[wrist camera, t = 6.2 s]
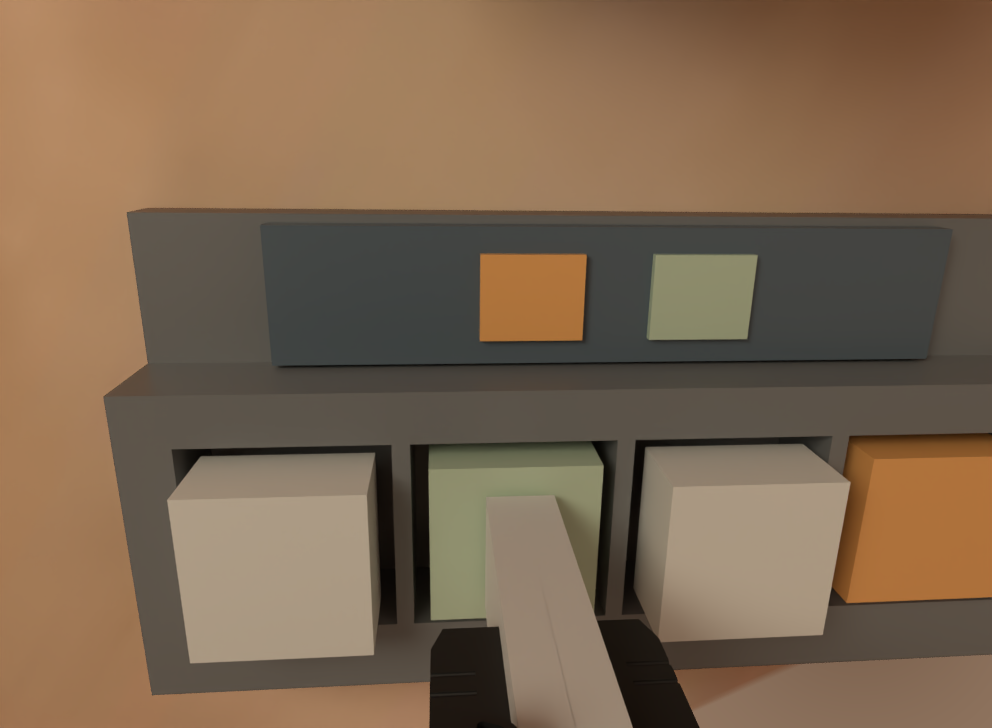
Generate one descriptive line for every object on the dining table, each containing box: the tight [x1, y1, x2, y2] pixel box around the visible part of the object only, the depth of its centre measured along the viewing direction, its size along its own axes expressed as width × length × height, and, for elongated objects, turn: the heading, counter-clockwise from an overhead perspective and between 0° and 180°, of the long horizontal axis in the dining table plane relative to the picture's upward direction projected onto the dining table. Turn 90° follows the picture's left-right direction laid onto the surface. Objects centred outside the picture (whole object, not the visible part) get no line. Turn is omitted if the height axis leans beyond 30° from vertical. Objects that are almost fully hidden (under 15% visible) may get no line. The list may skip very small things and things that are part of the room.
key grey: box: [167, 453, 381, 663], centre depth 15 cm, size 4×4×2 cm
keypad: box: [104, 208, 992, 695], centre depth 17 cm, size 22×11×4 cm, turn 89°
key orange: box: [832, 433, 992, 603], centre depth 17 cm, size 4×4×2 cm
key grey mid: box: [633, 444, 851, 642], centre depth 16 cm, size 4×4×2 cm
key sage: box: [428, 441, 604, 620], centre depth 16 cm, size 4×4×2 cm
